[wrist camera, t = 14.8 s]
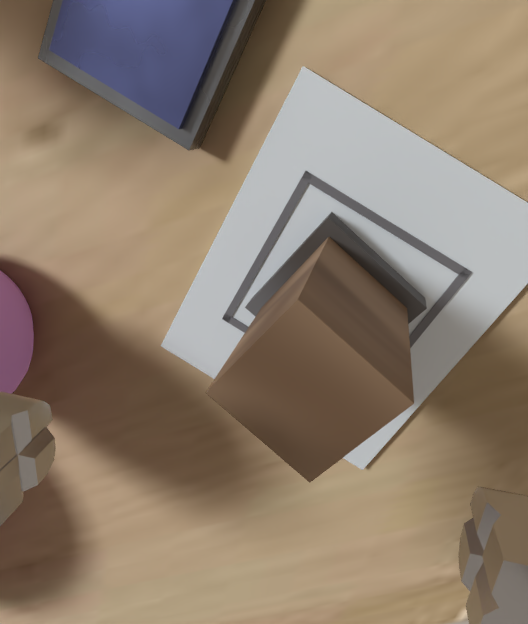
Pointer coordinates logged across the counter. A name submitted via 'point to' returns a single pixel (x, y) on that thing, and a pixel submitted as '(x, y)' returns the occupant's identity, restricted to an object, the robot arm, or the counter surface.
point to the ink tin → (153, 56)
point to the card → (361, 234)
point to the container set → (14, 335)
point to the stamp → (323, 352)
